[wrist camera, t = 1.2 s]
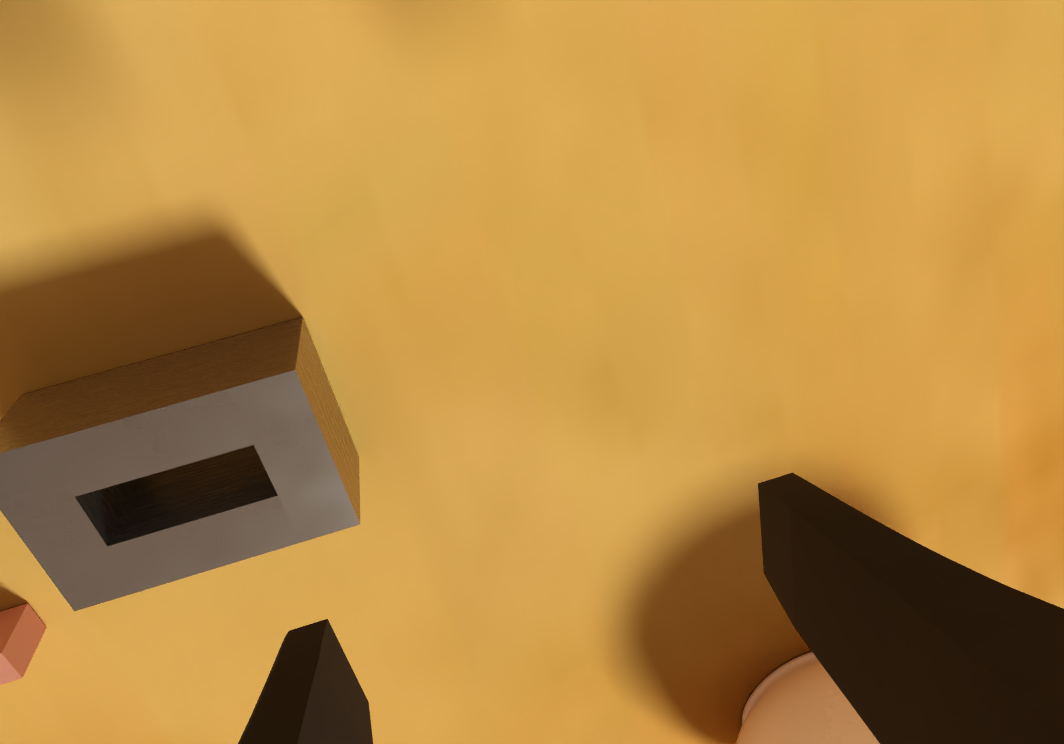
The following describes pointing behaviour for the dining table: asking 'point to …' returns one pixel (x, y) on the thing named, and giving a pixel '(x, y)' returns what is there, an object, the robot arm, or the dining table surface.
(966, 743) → the robot arm
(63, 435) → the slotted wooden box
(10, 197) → the dining table surface
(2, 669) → the keeper bracket
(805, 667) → the lidded jar
